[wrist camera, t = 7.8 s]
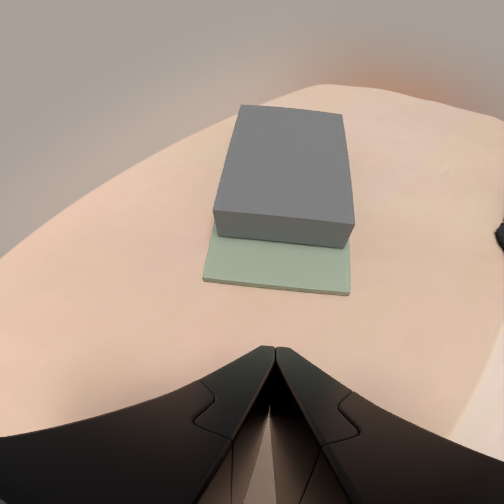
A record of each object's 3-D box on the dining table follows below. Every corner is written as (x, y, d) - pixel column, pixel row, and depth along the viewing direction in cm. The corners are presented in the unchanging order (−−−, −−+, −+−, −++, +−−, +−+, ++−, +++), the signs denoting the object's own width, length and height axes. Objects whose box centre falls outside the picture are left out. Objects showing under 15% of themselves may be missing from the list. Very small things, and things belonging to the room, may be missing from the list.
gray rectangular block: (355, 224, 18) (341, 114, 24) (212, 210, 19) (240, 104, 25) (343, 249, 21) (335, 141, 27) (218, 237, 22) (242, 132, 28)
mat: (348, 295, 20) (350, 292, 20) (203, 281, 21) (202, 277, 20) (340, 154, 27) (341, 150, 26) (235, 144, 28) (234, 139, 27)
